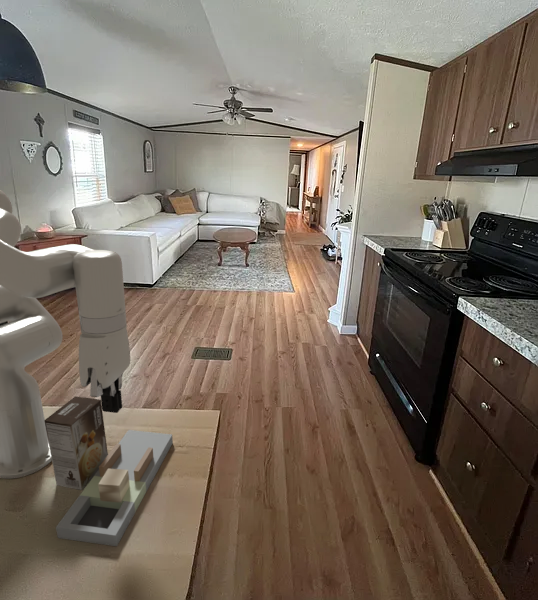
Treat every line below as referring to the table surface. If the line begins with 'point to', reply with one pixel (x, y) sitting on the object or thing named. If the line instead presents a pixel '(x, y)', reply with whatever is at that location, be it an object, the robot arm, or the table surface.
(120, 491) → the cream block
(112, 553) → the table surface
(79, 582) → the table surface
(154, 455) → the recessed deck with rails
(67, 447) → the coffee box
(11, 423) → the robot arm
